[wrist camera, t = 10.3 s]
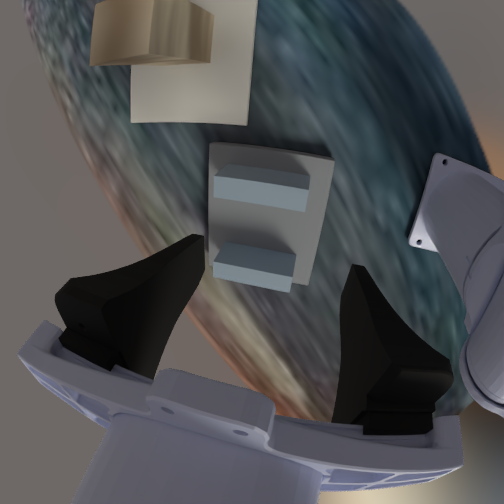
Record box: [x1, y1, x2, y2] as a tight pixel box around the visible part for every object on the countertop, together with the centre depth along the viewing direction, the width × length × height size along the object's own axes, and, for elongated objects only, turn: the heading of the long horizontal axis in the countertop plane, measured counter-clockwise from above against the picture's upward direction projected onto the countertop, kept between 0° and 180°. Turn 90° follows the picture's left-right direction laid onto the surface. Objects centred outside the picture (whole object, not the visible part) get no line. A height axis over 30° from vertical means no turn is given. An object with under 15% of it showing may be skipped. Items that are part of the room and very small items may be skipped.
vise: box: [208, 141, 335, 292], centre depth 21 cm, size 9×11×4 cm
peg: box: [90, 0, 215, 66], centre depth 12 cm, size 4×4×8 cm
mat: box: [131, 0, 258, 126], centre depth 15 cm, size 10×14×1 cm
